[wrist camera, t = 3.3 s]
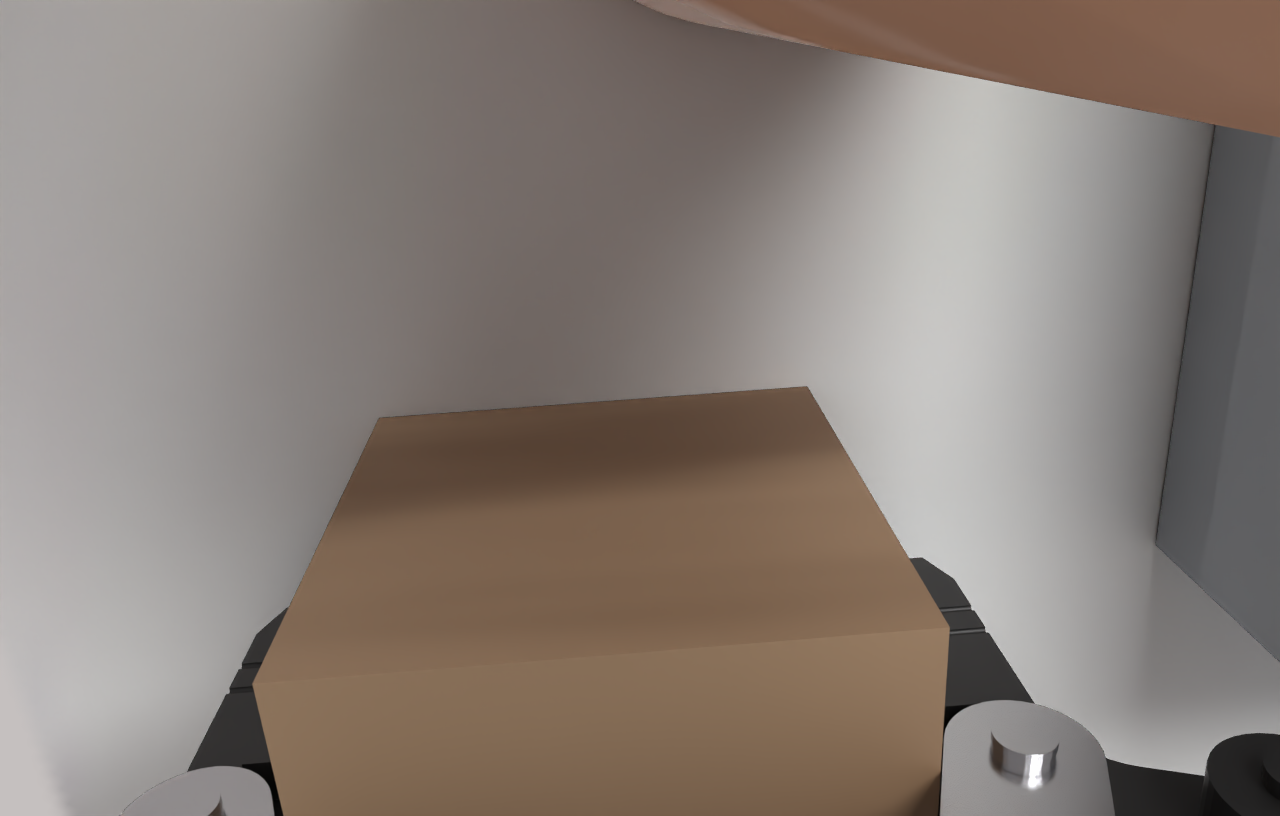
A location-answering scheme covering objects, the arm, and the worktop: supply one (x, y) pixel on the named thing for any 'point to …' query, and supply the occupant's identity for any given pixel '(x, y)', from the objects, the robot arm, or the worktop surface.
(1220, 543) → the grey tote
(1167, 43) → the terracotta capsule
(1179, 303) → the worktop surface
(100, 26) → the worktop surface
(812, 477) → the walnut cube
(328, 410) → the worktop surface
